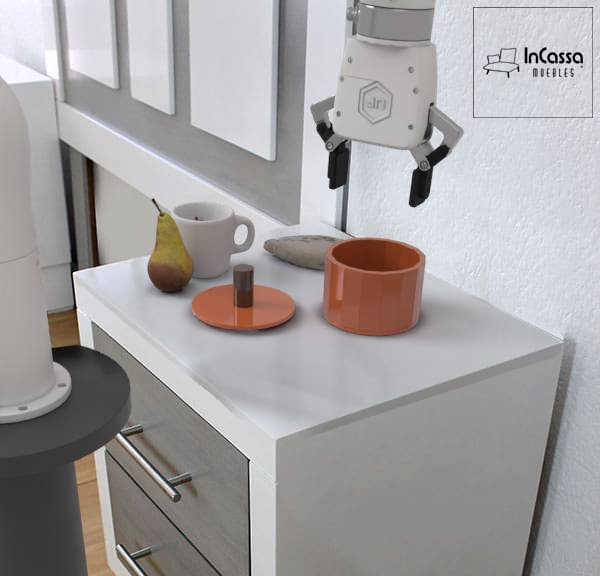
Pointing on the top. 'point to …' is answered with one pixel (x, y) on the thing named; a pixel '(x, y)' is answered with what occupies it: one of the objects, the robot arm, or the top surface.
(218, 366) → the top surface
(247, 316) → the lid
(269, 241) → the decorative stone
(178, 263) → the fruit
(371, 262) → the pot
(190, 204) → the cup
